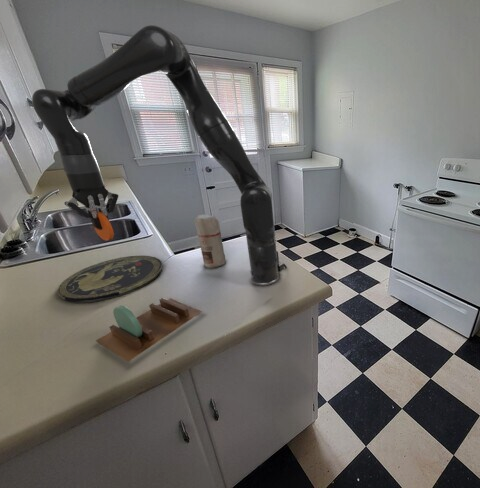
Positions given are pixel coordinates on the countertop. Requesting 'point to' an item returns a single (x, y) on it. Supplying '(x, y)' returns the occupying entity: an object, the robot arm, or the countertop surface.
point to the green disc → (127, 321)
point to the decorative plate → (110, 279)
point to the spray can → (210, 240)
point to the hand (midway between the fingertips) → (103, 227)
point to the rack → (149, 328)
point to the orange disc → (104, 227)
